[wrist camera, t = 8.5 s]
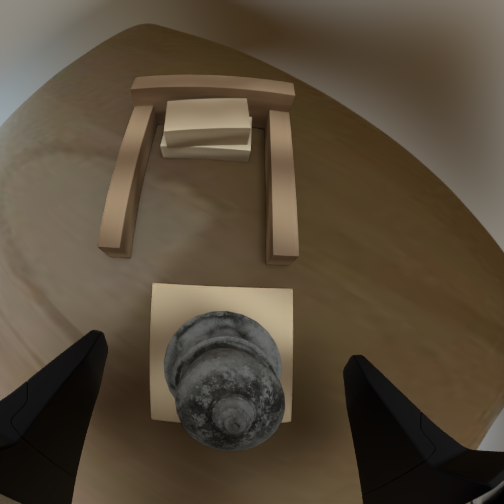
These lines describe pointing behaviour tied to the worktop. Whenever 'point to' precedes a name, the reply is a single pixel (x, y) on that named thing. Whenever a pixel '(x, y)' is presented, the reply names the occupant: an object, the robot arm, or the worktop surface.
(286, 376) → the cork mat
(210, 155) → the offcut lower
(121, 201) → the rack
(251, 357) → the grey chess piece
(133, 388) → the worktop surface
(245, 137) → the offcut upper
